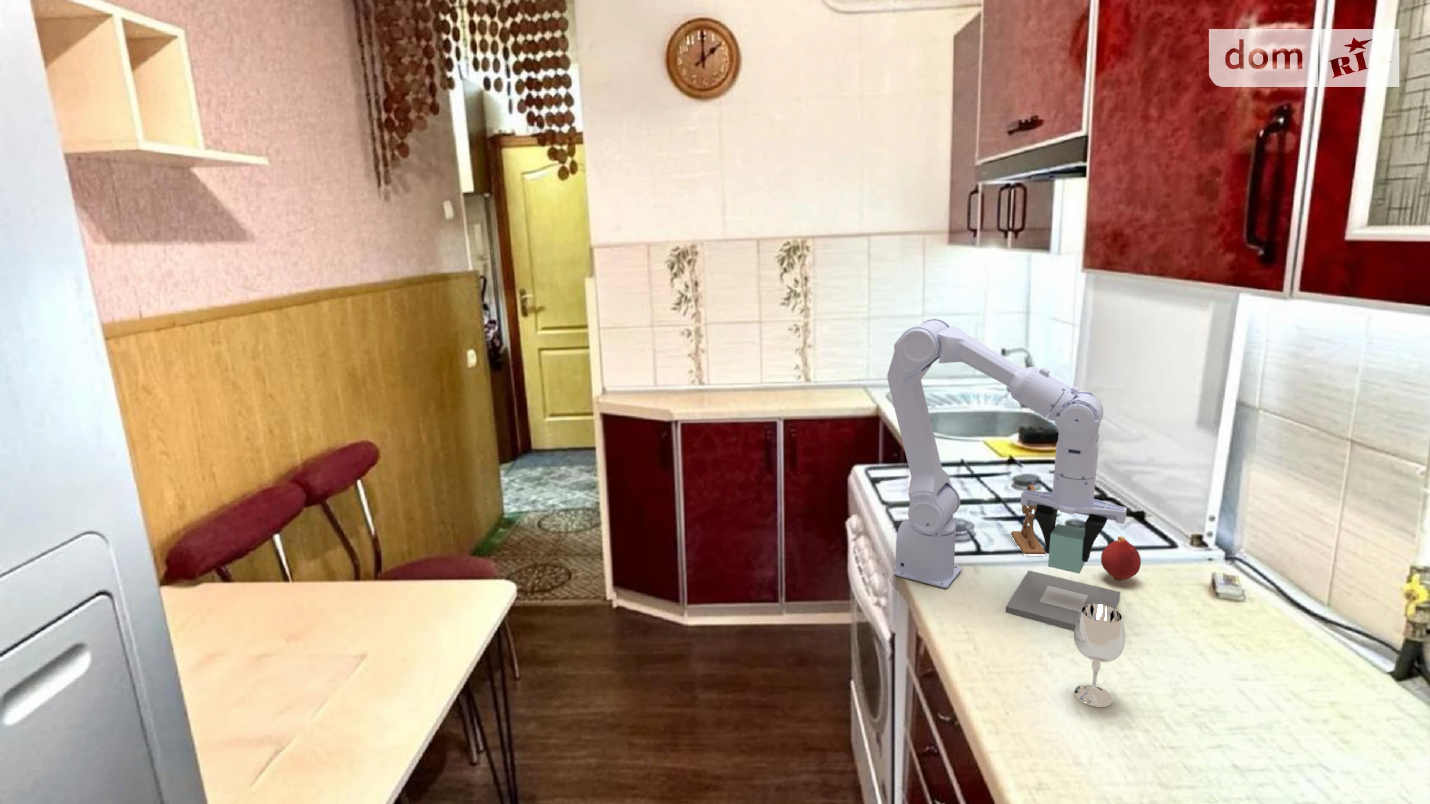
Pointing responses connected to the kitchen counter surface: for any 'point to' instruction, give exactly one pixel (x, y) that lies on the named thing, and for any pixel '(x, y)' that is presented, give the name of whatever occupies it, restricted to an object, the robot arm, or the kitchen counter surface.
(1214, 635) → the kitchen counter surface
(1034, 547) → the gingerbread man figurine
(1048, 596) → the tile
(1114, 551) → the onion
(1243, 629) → the kitchen counter surface
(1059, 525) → the block
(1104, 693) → the wineglass
